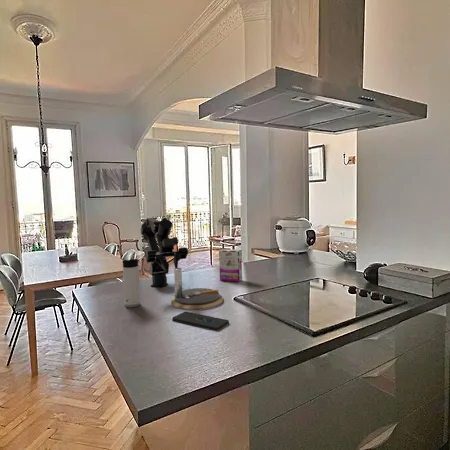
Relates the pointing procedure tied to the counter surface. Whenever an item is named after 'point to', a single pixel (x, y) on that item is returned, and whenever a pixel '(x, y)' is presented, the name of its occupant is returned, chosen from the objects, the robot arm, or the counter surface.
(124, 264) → the travel mug
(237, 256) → the candy bar box
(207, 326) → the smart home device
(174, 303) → the oak stand
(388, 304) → the counter surface
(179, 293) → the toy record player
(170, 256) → the robot arm
